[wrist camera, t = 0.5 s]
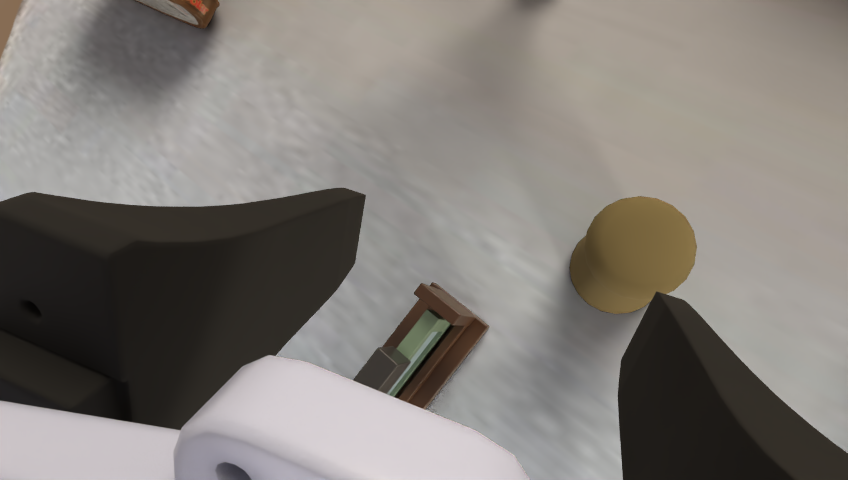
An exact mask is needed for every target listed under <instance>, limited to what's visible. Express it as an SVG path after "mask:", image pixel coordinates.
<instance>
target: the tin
mask: <svg viewBox="0 0 848 480" xmlns="http://www.w3.org/2000/svg"><path fill="white" fill-rule="evenodd" d="M135 1H137V2H139V3H142V4H144V5H146V6H148V7H150V8H153V9H155V10H157V11H159V12H161V13H164V14H166V15H168V16H170V17H173V18H175V19H177V20H180V21H182V22H184V23H187V24H189V25H192V26H195V27H197V28H206V27H207V25H208V24H209V22H210V20H211V18H212V16H213V14H214V12H215V10H216V8H217V7H219V2H218V0H135Z"/></svg>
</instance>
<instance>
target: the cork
mask: <svg viewBox="0 0 848 480" xmlns="http://www.w3.org/2000/svg"><path fill="white" fill-rule="evenodd" d="M696 249H697V245H696V241H695V236H694V231H693V229H692V227H691V226H690V224H689V222H688V221H687V219H686V217H685V216H684V215H683V214H682V213H680V212H679V211H678V210H677V209H676V208H675V207H674V206H672V205H670V204H668V203H666V202H664V201H661V200H659V199H656V198H649V197H642V196H638V197H632V198H625V199H621V200H619V201H616V202H614V203H612V204H610V205H608V206H606V207H605V208H604V209H603V210H602V211H601V212H600V213H599V214H598V215H597V216H595V218H594V220H593V221H592V223H591V225H590V227H589V229H588V231H587V234H586V236H585V237H584V238H583V239H582V240H581V241H580V242H578V244H577V246H576V248H575V250H574V251H573V253H572V257H571V263H570V273H571V280H572V283H573V285H574V287H575V289H576V291H577V292H578V294H579V295H580V296H581V297H582V298H583V299H584V300H585V301H586V302H587V303H588V304H589V305H591V306H593V307H595V308H597V309H599V310H601V311H604V312H609V313H614V314H620V313H629V312H633V311H635V310H638V309H640V308H642V307H644V306H646V305H647V304H648V303H649V302H650V301H651V300H652V299H653V297H654V295H655V293H656V291H657V292H660V293H663V294H667V293H669V292H672V291H674V290H675V289H676V288H677V287H678V286H679V285H680V284H681V283H683V282H684V281H685V280H686V279H687V277H688V275H689V273H690V271H691V269H692V268H693V266H694V262H695V256H696Z"/></svg>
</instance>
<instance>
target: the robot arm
mask: <svg viewBox="0 0 848 480" xmlns="http://www.w3.org/2000/svg"><path fill="white" fill-rule="evenodd" d="M365 197H366V195H364V194H361V193H358V192H355V191H352V190H349V189H346V188H333V189H326V190H320V191H315V192H309V193H304V194H299V195H294V196H288V197H283V198H277V199H270V200H264V201H257V202H250V203H243V204H234V205H222V206H205V207H156V206H138V205H125V204H114V203H104V202H95V201H88V200H81V199H74V198H68V197H61V196H55V195H48V194H42V193H37V192H30V193H25V194H22V195H19V196H16V197H13V198H10V199H7V200H4V201H1V202H0V480H530V478H529V477H528V475H527V474H526V472H525V471H524V469H523V468H522V466H521V464H520V463H519V461H518V460H517V458H516V457H515V456H514V455H513V454H512V453H510V452H509V451H507V450H505V449H504V448H502V447H501V446H499V445H498V444H496V443H495V442H493V441H492V440H490V439H488V438H487V437H485V436H484V435H482V434H481V433H479V432H478V431H476V430H474V429H471V428H469V427H466V426H464V425H461V424H459V423H456V422H454V421H451V420H449V419H447V418H444V417H442V416H439V415H437V414H434V413H432V412H429V411H427V410H424V409H422V408H419V407H417V406H415V405H412V404H410V403H407V402H405V401H402V400H400V399H397V398H395V397H392V396H390V395H388V394H385V393H383V392H380V391H378V390H375V389H373V388H370V387H368V386H365V385H363V384H360V383H358V382H356V381H353V380H351V379H348V378H346V377H343V376H341V375H338V374H336V373H333V372H331V371H328V370H326V369H324V368H321V367H319V366H316V365H314V364H311V363H309V362H306V361H300V360H294V359H289V358H283V357H277V356H275V355H276V354H277V353H278V352H279V351H280V350H281V349H282V347H283V346H284V345H285V344H286V343H287V342H288V341H289V340H290V339H291V338H292V337H293V336H294V335H295V334H296V333H297V331H298V330H299V329H300V328H301V327H302V326H303V325H304V324H305V323H306V322H307V321H308V320H309V319H310V318H311V317H312V316H313V315H314V314H315V313H316V312H317V311H318V310H319V309H320V307H321V306H322V305H323V304H324V303H325V302H326V301H327V300H328V299H329V298H330V297H331V296H332V295H333V293H334V292H335V291H336V290H337V289H338V287H339V286H340V285H341V283H342V282H343V280H344V279H345V277H346V276H347V274H348V273H349V271H350V270H351V268H352V267H353V265H354V264H355V259H356V253H357V247H358V241H359V234H360V228H361V222H362V216H363V209H364V203H365ZM618 408H619V426H620V441H621V455H622V470H623V480H848V453H846V452H845V451H844V450H842V449H841V448H840V447H838V446H837V445H836V444H834V443H833V442H832V441H830V440H829V439H828V438H826V437H825V436H824V435H823V434H821V433H820V432H819V431H817V430H816V429H815V428H814V427H813V426H811V425H810V424H809V423H808V422H807V421H805V420H804V419H803V418H802V417H801V416H800V415H798V414H797V413H796V412H795V411H794V410H792V409H791V408H790V407H789V406H788V405H787V404H785V403H784V402H783V401H782V400H781V399H780V398H779V397H778V396H777V395H775V394H774V393H773V392H772V391H771V390H770V389H769V388H768V387H767V386H766V385H765V384H764V383H763V382H762V381H761V380H760V379H759V378H758V377H757V376H756V375H755V374H754V373H753V372H752V371H751V370H750V369H749V368H748V367H747V366H746V365H745V364H744V363H743V362H742V361H741V360H740V359H739V358H738V357H737V356H736V355H735V354H734V352H733V351H732V350H731V349H730V348H729V347H728V346H727V345H726V344H725V343H724V342H723V340H722V339H721V338H720V337H719V336H718V335H717V334H716V333H715V332H714V330H713V329H712V328H711V327H710V326H709V325H708V324H707V323H706V322H705V320H704V319H703V318H702V317H701V316H700V315H699V314H698V313H697V312H696V311H695V310H694V309H693V308H692V307H691V306H690V305H689V304H688V303H687V302H686V301H684V300H682V299H679V298H675V297H672V296H669V295H666V294H663V293H660V292H657V291H656V293H655V295H654V297H653V299H652V301H651V302H650V304H649V306H648V308H647V310H646V312H645V314H644V316H643V318H642V320H641V322H640V324H639V326H638V328H637V330H636V332H635V334H634V336H633V338H632V340H631V342H630V343H629V345H628V347H627V349H626V351H625V353H624V355H623V357H622V359H621V368H620V377H619V388H618Z"/></svg>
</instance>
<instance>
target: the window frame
mask: <svg viewBox="0 0 848 480" xmlns="http://www.w3.org/2000/svg"><path fill="white" fill-rule="evenodd" d="M414 294H415V295H416V296H417V297H418V298H420V299H419V300H418V301H417V303H416V304H415V305H414V306H413V308H412V309H411V310H410V312H409V313H408V314H407V316H406V317H405V318H404V319H403V321H402V322H401V323H400V325H399V326H398V327H397V328H396V330H395V331H394V332H393V334H392V335H391V336H390V338H389V339H388V340H387V341H386V343H385V344H384V345H383V347H390V346H394V347H395V348H397V347H398V346H399V344H400V343H401V342H402V341H403V339H404V338H405V337H406V335H407V334H408V333H409V332H410V330H411V329H412V328H413V326H414V325H415V324H416V322H417V321H418V320H419V319H420V317H421V316H422V315H423V313H424V312H425V311H426V310H427V309H429V310H434V311H435V312H437V313H438V314H439V315H440V316H441V317H443V318H444V319H445V320H446V321H447V322H449V323H450V324H451V326H450V327H449V328H448V330H447V331H446V332H445V334H444V335H443V336H442V337H441V339H440V340H439V341H438V343H437V344H436V345H435V346H434V348H433V349H432V350H431V352H430V353H429V354H428V355H427V357H426V358H425V359H424V361H423V362H422V363H421V365H420V366H419V367H418V368H417V370H416V371H415V372H414V374H413V375H412V376H411V377H410V379H409V380H408V381H407V383H406V384H405V385H404V386H403V388H402V389H401V390H400V392H399V393H398V394H397V395H396V397H395V398H397V399H400V400H402V401H405V402H407V403H410V404H412V405H415V406H417V407H419V408H422V409H424V410H426V408H427V407H428V406H429V404H430V403H431V402H432V400H433V399H434V398H435V397H436V395H437V394H438V393H439V391H440V390H441V389H442V388H443V386H444V385H445V384H446V382H447V381H448V380H449V379H450V377H451V376H452V375H453V373H454V372H455V371H456V370H457V368H458V367H459V366H460V364H461V363H462V362H463V361H464V359H465V358H466V357H467V355H468V354H469V353H470V352H471V350H472V349H473V348H474V346H475V345H476V344H477V343H478V341H479V340H480V339H481V337H482V336H483V335H484V334H485V332H486V331H487V330H488V328H489V326H488V325H487V324H486V323H485V322H483V321H482V320H481V319H480V318H479V317H477V316H476V315H475V314H474V313H472V312H471V311H470V310H469V309H467V308H466V307H465V306H464V305H462V304H461V303H460V302H459V301H457V300H456V299H455V298H454V297H452V296H451V295H450V294H449V293H447V292H446V291H445V290H444V289H442V288H441V287H440V286H439V285H437V284H436V283H433V282H432V283H431V285H430V286H428V285H426V284H423V283H421V284H420V286H419V287H418V288H417V290H416V291H415V292H414Z"/></svg>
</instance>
